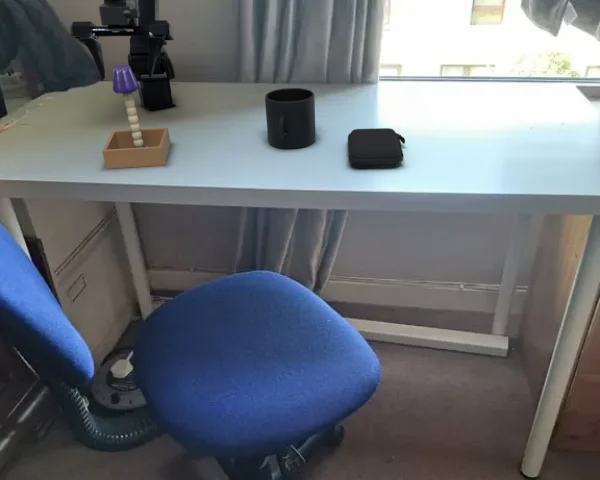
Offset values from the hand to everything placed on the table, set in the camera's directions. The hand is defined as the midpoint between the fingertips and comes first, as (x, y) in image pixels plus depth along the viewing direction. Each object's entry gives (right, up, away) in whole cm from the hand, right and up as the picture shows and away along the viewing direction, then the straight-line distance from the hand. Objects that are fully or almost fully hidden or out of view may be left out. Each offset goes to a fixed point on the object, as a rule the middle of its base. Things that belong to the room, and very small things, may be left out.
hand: (126, 78), depth 123 cm
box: (+3, -16, -4) cm, 17 cm away
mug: (+32, -13, -1) cm, 35 cm away
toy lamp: (+3, -16, -3) cm, 17 cm away
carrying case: (+48, -17, -8) cm, 52 cm away
